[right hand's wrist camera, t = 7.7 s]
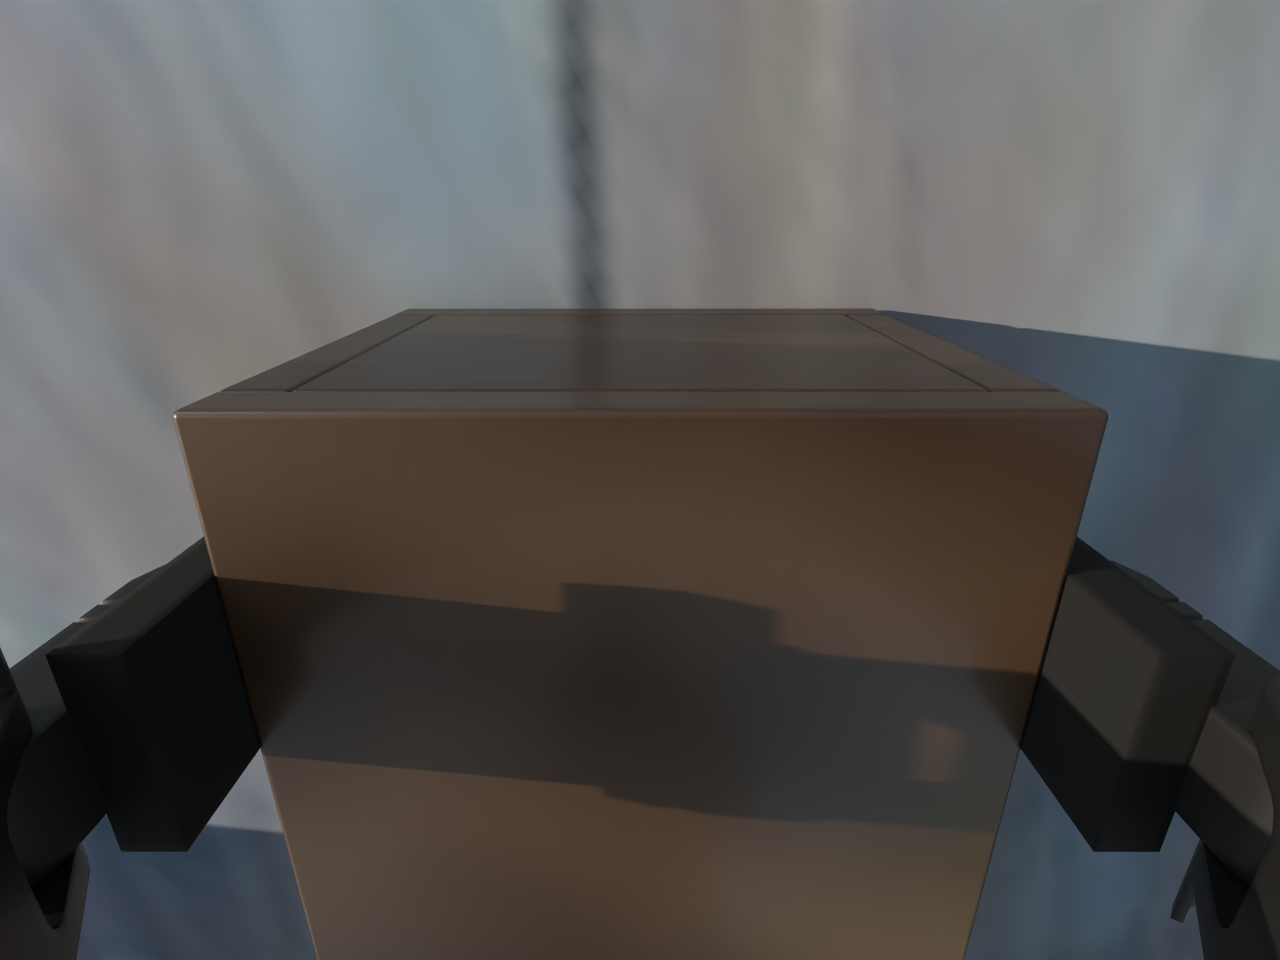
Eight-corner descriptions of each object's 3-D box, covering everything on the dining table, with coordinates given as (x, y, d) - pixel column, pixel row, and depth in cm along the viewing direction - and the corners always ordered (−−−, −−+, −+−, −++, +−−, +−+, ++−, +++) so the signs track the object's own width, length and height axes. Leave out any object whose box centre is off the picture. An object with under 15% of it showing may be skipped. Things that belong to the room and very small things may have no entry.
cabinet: (794, 950, 23) (870, 1318, 15) (487, 950, 23) (410, 1318, 15) (874, 308, 15) (1114, 410, 7) (405, 308, 15) (166, 410, 7)
